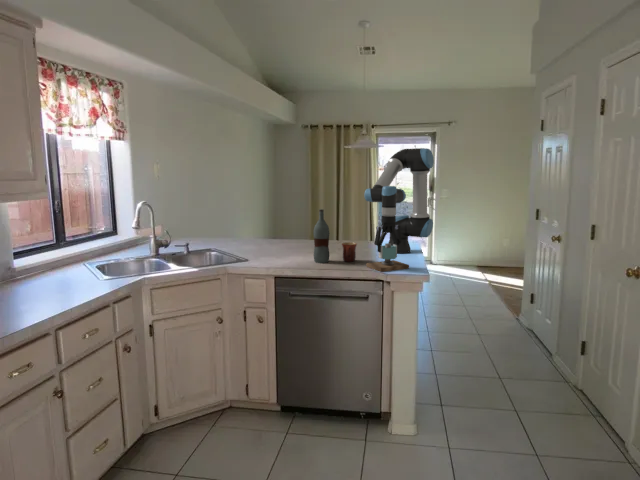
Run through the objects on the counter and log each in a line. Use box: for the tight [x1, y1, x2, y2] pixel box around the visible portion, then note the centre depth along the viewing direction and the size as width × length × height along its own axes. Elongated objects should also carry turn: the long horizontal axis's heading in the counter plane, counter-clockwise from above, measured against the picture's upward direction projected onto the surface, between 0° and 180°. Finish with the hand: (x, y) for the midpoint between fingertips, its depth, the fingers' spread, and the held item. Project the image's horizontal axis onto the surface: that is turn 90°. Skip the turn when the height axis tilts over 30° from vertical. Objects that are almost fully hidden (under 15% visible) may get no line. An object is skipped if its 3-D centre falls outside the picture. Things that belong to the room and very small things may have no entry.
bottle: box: [313, 208, 330, 264], centre depth 258 cm, size 9×9×30 cm
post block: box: [366, 242, 410, 273], centre depth 243 cm, size 18×14×13 cm
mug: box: [341, 241, 358, 263], centre depth 259 cm, size 12×9×10 cm
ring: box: [382, 244, 397, 260], centre depth 243 cm, size 8×8×6 cm
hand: (387, 257), depth 243 cm, fingers closed on ring, 8 cm apart
